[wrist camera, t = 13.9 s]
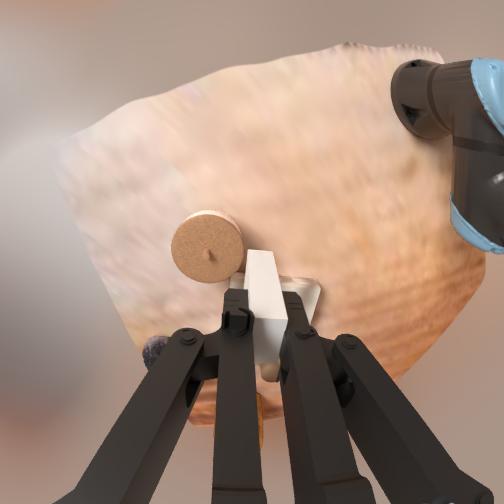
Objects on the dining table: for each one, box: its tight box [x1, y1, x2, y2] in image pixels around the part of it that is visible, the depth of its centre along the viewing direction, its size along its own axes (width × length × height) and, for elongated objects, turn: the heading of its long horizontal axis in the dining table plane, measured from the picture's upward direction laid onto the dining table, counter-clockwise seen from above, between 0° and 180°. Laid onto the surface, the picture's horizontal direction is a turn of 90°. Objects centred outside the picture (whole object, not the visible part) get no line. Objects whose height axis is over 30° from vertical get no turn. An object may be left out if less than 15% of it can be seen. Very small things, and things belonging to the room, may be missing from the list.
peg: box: [260, 358, 280, 382], centre depth 49 cm, size 4×4×15 cm
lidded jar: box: [171, 210, 244, 283], centre depth 43 cm, size 11×11×9 cm
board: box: [229, 272, 321, 364], centre depth 54 cm, size 16×20×4 cm
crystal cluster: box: [142, 336, 170, 371], centre depth 55 cm, size 13×14×10 cm
